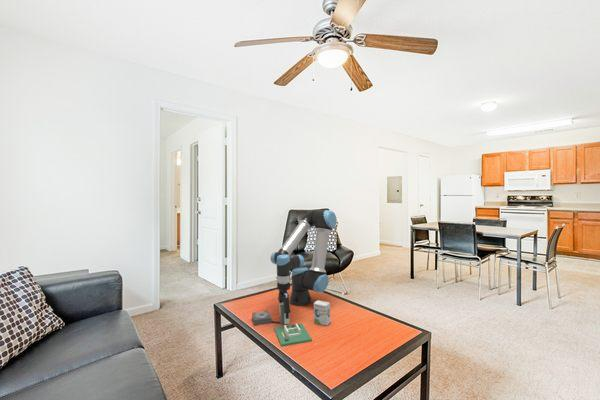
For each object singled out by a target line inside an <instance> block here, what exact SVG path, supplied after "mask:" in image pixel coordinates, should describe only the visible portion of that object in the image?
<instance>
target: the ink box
mask: <svg viewBox="0 0 600 400" xmlns="http://www.w3.org/2000/svg"><path fill="white" fill-rule="evenodd" d="M313 323H314V324H317V325H318V324H319V325H322V326H329V325H330V323H331V303H330V302H328V301H323V300H320V299H319V300H316V301H314V302H313Z"/></svg>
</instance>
